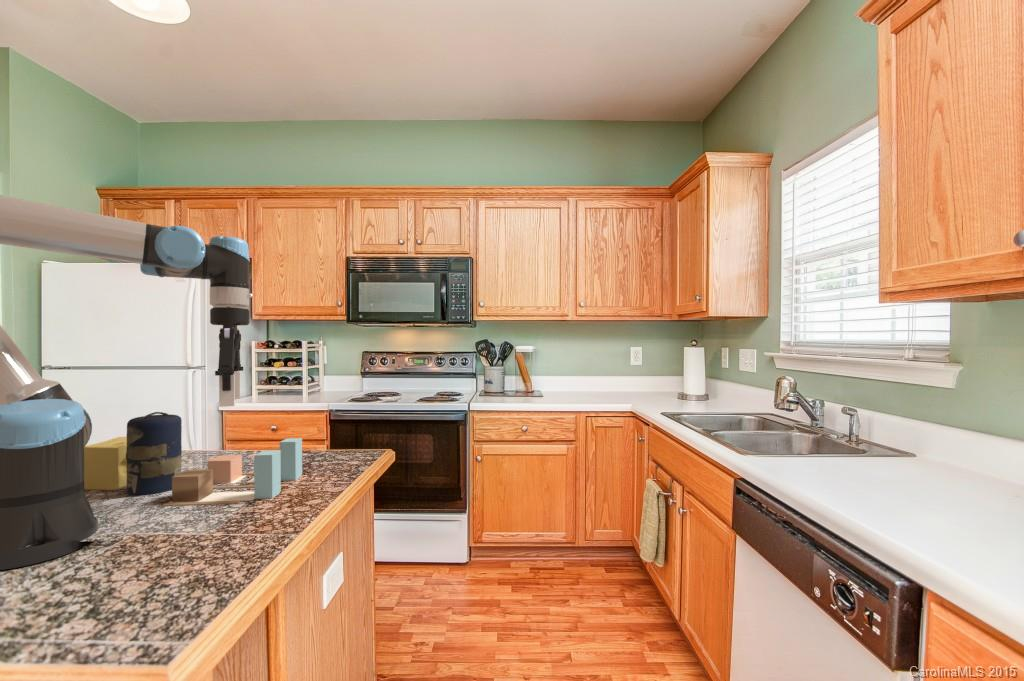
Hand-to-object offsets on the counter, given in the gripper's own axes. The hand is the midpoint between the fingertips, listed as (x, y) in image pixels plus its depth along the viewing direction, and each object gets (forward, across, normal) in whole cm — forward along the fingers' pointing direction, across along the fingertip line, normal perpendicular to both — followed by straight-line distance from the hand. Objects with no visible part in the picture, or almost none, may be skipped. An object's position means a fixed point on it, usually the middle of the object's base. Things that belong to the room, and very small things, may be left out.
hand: (230, 402), depth 103 cm
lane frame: (+20, -3, 0) cm, 20 cm away
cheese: (+20, +18, +24) cm, 36 cm away
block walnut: (+18, -7, +6) cm, 20 cm away
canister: (+20, +4, +14) cm, 25 cm away
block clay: (+18, +4, +2) cm, 19 cm away
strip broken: (+19, +2, -5) cm, 20 cm away
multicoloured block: (+19, -9, 0) cm, 22 cm away
